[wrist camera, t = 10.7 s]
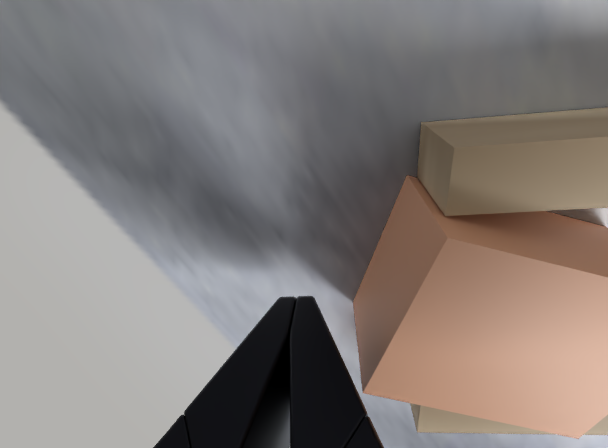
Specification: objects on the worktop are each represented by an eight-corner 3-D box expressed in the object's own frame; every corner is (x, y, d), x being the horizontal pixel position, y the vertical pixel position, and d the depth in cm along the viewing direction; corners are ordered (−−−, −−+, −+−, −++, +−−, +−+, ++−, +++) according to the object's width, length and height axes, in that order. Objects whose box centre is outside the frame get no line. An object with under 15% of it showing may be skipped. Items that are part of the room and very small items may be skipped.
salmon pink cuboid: (509, 333, 10) (577, 438, 7) (352, 297, 9) (362, 393, 7) (598, 222, 8) (736, 309, 5) (404, 172, 8) (447, 237, 5)
